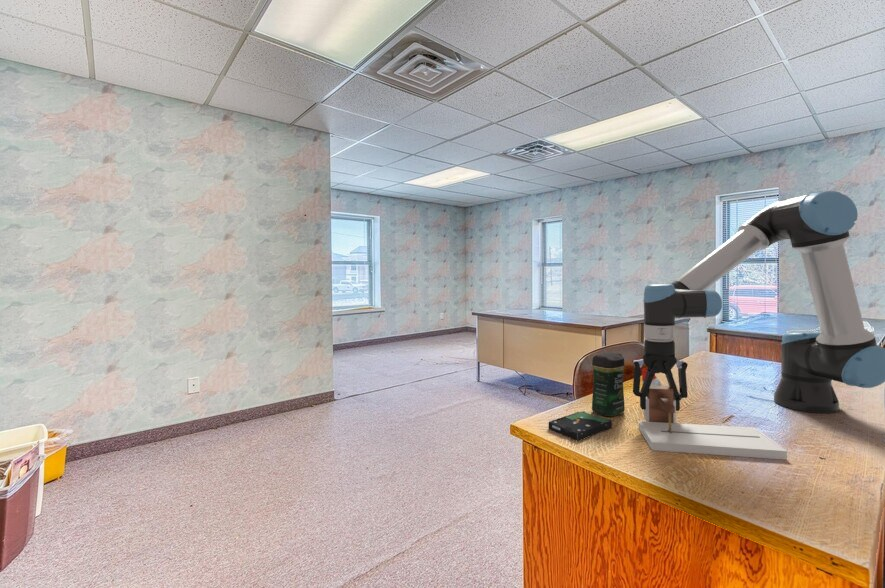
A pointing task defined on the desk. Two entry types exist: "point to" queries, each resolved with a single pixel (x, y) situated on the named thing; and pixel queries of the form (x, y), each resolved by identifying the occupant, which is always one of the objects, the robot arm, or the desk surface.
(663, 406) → the marking gauge
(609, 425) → the disk drive
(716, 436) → the grey board
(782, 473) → the desk surface
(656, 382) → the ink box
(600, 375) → the coffee jar
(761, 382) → the desk surface
